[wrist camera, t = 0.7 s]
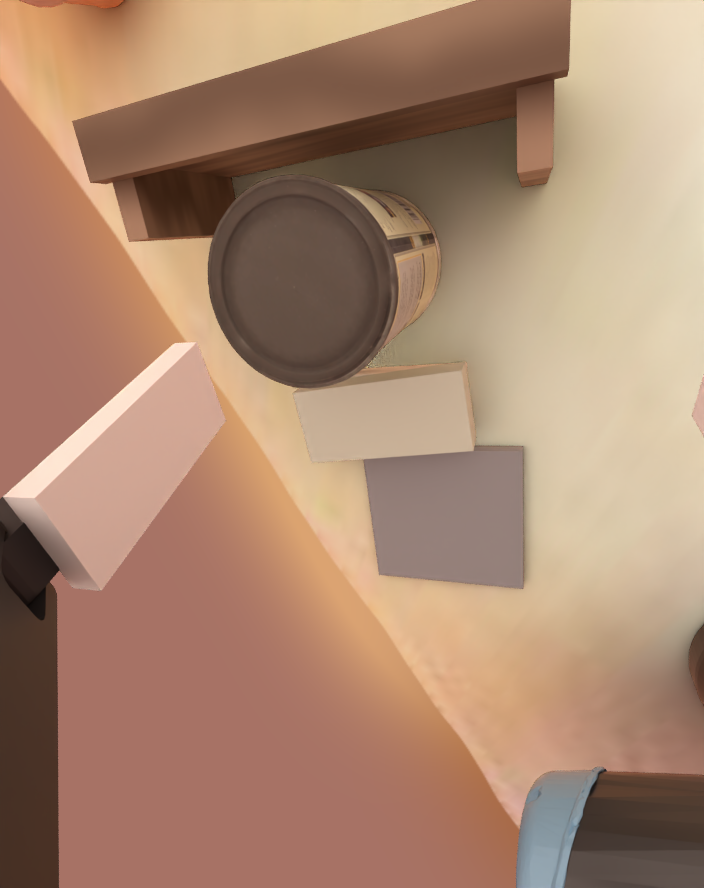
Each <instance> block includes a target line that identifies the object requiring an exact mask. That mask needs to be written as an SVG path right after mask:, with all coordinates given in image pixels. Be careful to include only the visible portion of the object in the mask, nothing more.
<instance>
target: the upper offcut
mask: <svg viewBox="0 0 704 888" xmlns="http://www.w3.org/2000/svg"><path fill="white" fill-rule="evenodd" d="M293 397H294V400H295V404H296V408H297V411H298V415H299V419H300V422H301V426H302V430H303V433H304V437H305V441H306V444H307V448H308V452H309V455H310V459H311V463H320V462H333V461H346V460H360V459H373V458H387V457H400V456H413V455H427V454H440V453H453V452H467V451H473V450H474V446H475V442H476V438H477V437H476V430H475V423H474V416H473V409H472V402H471V395H470V388H469V381H468V374H467V367H466V361H463V362H456V363H449V364H442V365H435V366H428V367H421V368H414V369H407V370H400V371H393V372H386V373H379V374H372V375H365V376H358V377H351V378H349V379H347V380H345V381H343V382H340V383H337V384H335V385H332V386H327V387H322V388H299V389H298V390H296V391H295V392H294V393H293Z"/></svg>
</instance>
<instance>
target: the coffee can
mask: <svg viewBox="0 0 704 888" xmlns="http://www.w3.org/2000/svg"><path fill="white" fill-rule="evenodd" d="M440 274H441V254H440V247H439V243H438V240H437V237H436V234H435V232H434V229H433V227H432V225H431V224H430V222H429V221H428V218H427V217H426V216H425V215H424V214H423V213H422V212H421V211H420V210H419V209H418V208H417V207H416V206H415V205H414V204H413V203H411V202H410V201H408V200H406V199H405V198H403V197H401V196H399V195H396V194H394V193H390V192H386V191H381V190H367V189H361V188H354V187H349V186H343V185H337V184H333V183H331V182H328V181H326V180H323V179H320V178H316V177H312V176H306V175H283V176H278V177H273V178H269V179H266V180H263V181H261V182H259V183H257V184H255V185H253V186H252V187H250V188H249V189H247V190H246V191H244V192H243V193H242V194H241V195H240V196H239V197H238V198H237V199H236V200H235V201H234V202H233V203H232V204H231V205H230V207H229V208H228V209H227V211H226V212H225V214H224V215H223V217H222V219H221V220H220V222H219V224H218V226H217V228H216V231H215V233H214V236H213V239H212V243H211V247H210V252H209V261H208V285H209V293H210V298H211V303H212V306H213V310H214V313H215V316H216V318H217V321H218V323H219V325H220V327H221V329H222V331H223V333H224V334H225V336H226V338H227V339H228V341H229V343H230V344H231V346H232V347H233V348H234V349H235V351H236V352H237V353H238V354H239V355H240V356H241V357H242V358H243V359H244V360H245V361H246V362H247V363H248V364H249V365H250V366H251V367H253V368H254V369H255V370H256V371H258V372H259V373H261V374H263V375H264V376H266V377H268V378H270V379H272V380H274V381H276V382H279V383H282V384H285V385H288V386H292V387H298V388H322V387H327V386H332V385H335V384H337V383H340V382H343V381H345V380H347V379H349V378H351V377H352V376H354V375H355V374H357V373H358V372H359V371H361V370H362V369H363V368H364V367H365V366H367V365H368V364H369V362H370V361H371V360H372V359H373V358H374V357H375V356H376V354H377V353H378V352H379V351H380V350H381V349H382V348H383V347H384V346H385V345H386V344H387V343H389V342H390V341H391V340H392V339H393V338H394V337H396V336H397V335H398V334H399V333H400V332H401V331H402V330H403V329H405V328H406V327H407V326H408V325H410V324H412V323H413V322H414V321H415V320H417V319H418V318H419V317H420V316H421V315H422V313H423V312H424V311H425V310H426V308H427V307H428V305H429V304H430V302H431V301H432V299H433V297H434V294H435V292H436V289H437V286H438V282H439V278H440Z"/></svg>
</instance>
